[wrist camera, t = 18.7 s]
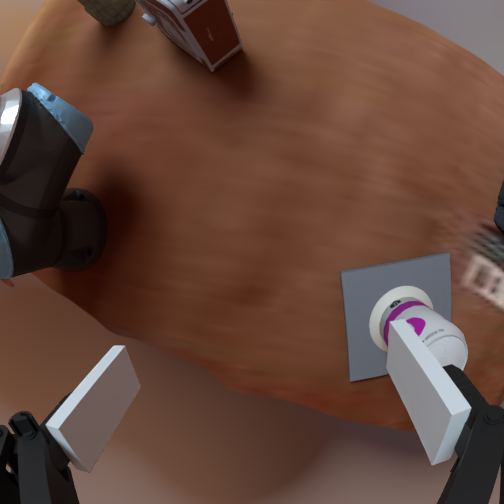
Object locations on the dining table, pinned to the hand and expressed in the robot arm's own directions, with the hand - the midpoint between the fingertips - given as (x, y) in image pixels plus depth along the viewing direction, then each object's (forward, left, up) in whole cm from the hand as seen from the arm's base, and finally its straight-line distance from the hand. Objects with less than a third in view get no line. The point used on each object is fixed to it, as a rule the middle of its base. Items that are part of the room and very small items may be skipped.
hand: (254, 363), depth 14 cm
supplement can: (+17, -11, -30) cm, 36 cm away
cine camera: (-8, +41, -32) cm, 53 cm away
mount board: (+17, -11, -31) cm, 38 cm away
